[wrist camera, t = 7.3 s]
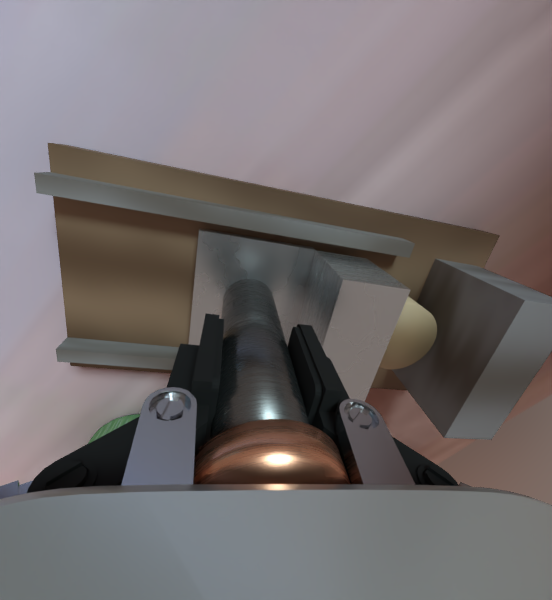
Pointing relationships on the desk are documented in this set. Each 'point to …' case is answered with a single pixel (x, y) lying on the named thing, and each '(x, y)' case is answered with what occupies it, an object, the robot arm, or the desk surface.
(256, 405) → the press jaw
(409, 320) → the beige rounded dome
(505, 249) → the desk surface
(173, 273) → the press frame
